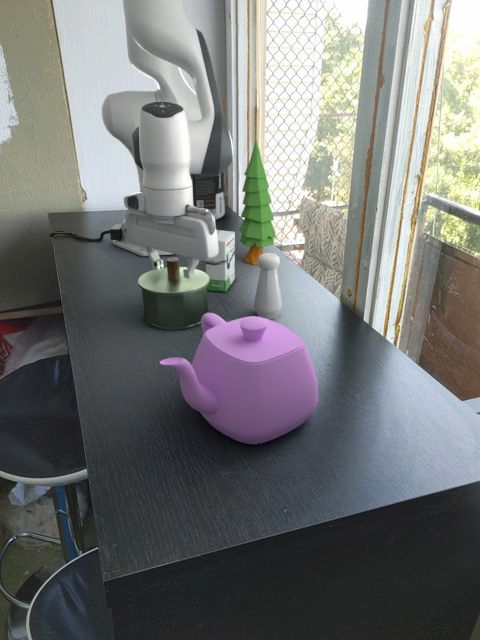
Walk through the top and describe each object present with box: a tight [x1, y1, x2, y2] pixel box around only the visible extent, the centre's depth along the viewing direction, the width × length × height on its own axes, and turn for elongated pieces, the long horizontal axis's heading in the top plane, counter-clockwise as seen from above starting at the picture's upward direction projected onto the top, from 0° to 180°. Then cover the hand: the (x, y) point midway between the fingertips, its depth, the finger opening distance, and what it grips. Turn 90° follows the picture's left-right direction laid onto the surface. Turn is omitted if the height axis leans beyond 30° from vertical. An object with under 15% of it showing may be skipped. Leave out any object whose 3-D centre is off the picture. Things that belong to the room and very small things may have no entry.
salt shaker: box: [253, 252, 283, 320], centre depth 104 cm, size 6×6×13 cm
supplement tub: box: [190, 171, 226, 221], centre depth 168 cm, size 16×16×26 cm
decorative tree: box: [238, 137, 277, 266], centre depth 129 cm, size 10×9×30 cm
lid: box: [137, 257, 209, 296], centre depth 102 cm, size 14×14×5 cm
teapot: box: [159, 312, 319, 445], centre depth 74 cm, size 23×21×15 cm
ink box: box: [204, 229, 236, 293], centre depth 119 cm, size 9×5×12 cm, turn 168°
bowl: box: [141, 286, 209, 331], centre depth 105 cm, size 13×13×8 cm
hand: (173, 273), depth 102 cm, fingers open, 7 cm apart
